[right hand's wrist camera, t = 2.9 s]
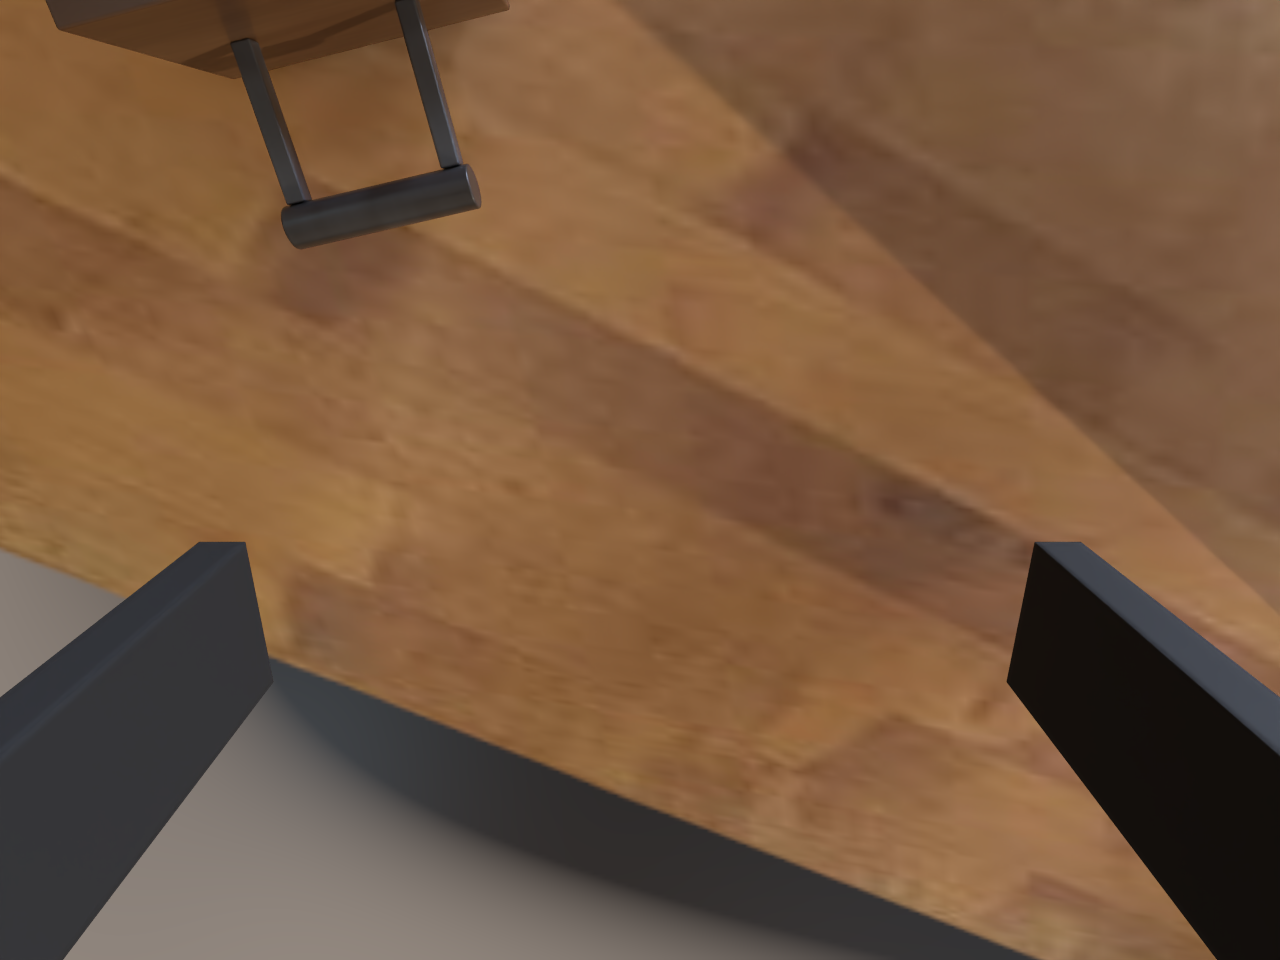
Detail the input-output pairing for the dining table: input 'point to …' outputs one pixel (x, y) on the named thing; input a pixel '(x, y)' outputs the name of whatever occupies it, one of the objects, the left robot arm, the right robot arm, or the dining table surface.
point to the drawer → (291, 33)
